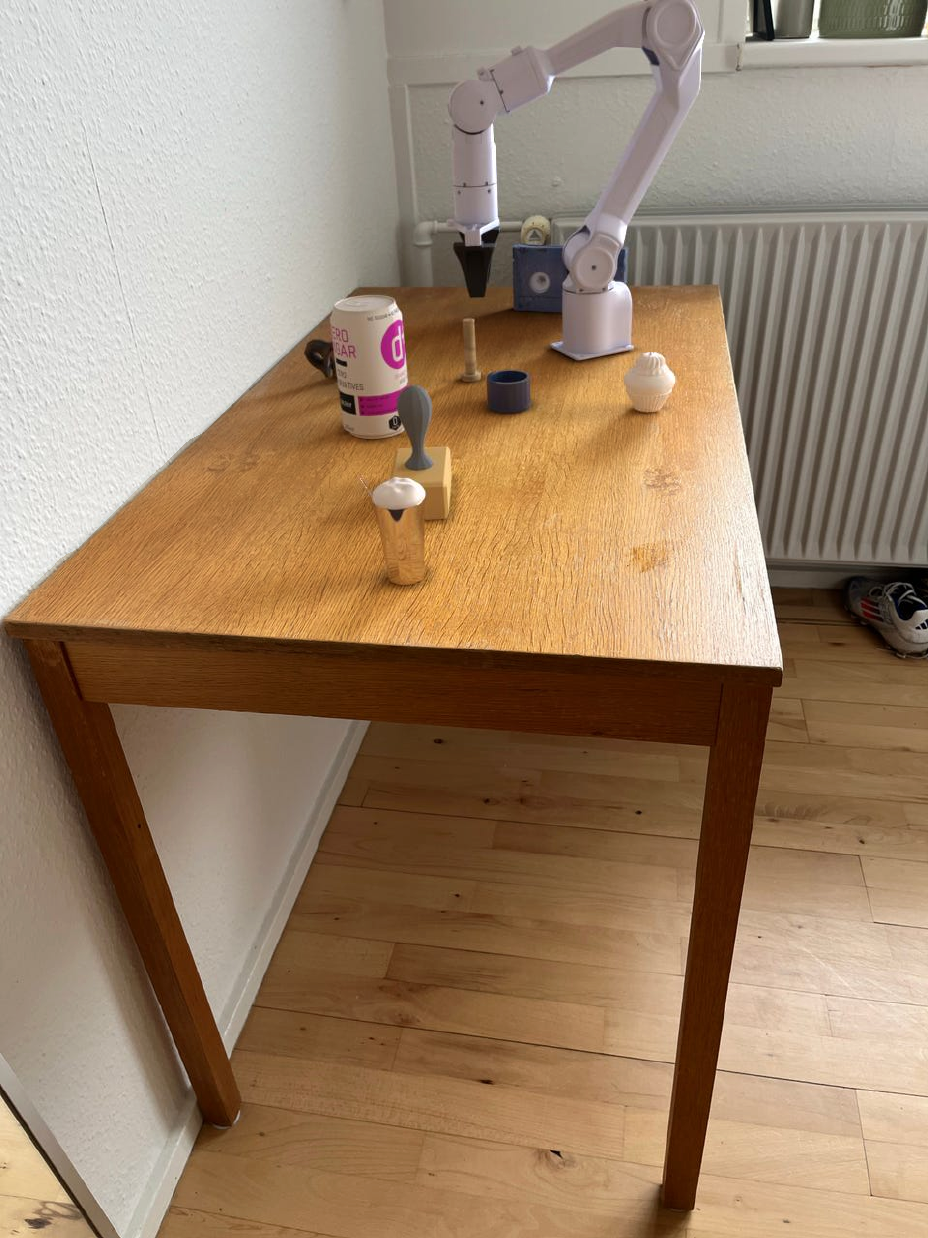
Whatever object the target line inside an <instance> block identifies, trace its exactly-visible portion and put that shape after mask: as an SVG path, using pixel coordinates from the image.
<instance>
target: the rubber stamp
mask: <svg viewBox="0 0 928 1238" xmlns="http://www.w3.org/2000/svg"><path fill="white" fill-rule="evenodd" d="M397 411H398V415H399V418H400V420H401V423H402V425H403V427H404V429H405V430H404V431H405V432H406V435H407V437H408V440H409V443H410V447H400V448H397V450H396V451H395V453H394V457H393V461H392V466H391V471H390V477H389V480H390V479H392V478H394V477H398V478H409V479H411V480H413V481H414V482H416V483H418V484H420V485H421V486H422V487H423V489H424V491H425V521H431V520H432V521H433V520H446V519H447V518H448V516H449V514H450V502H451V489H452V477H453V475H452V460H451V459H452V457H451V449H450V448H449V446H425V442H426V438H427V437H426V436H427V433H428V430H429V426H430V423H431V420H432V416H433V403H432V399H431V397H430V394H429V393H428V391H427V390H426V389H425V388H424V387H422V386H420V385H417V384H411V385H408V387H405V388H404V389H403V390H402V391H401V393H400V394H399V396H398V399H397Z"/></svg>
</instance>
